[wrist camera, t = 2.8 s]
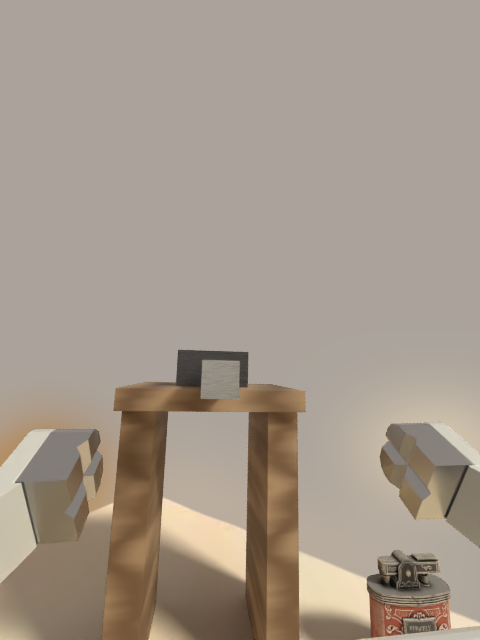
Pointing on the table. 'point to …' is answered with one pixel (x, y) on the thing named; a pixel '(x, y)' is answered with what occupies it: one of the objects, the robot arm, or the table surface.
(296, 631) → the walnut shelf
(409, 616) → the lighter
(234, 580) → the table surface
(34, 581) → the table surface
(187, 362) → the steel t handle
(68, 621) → the table surface
